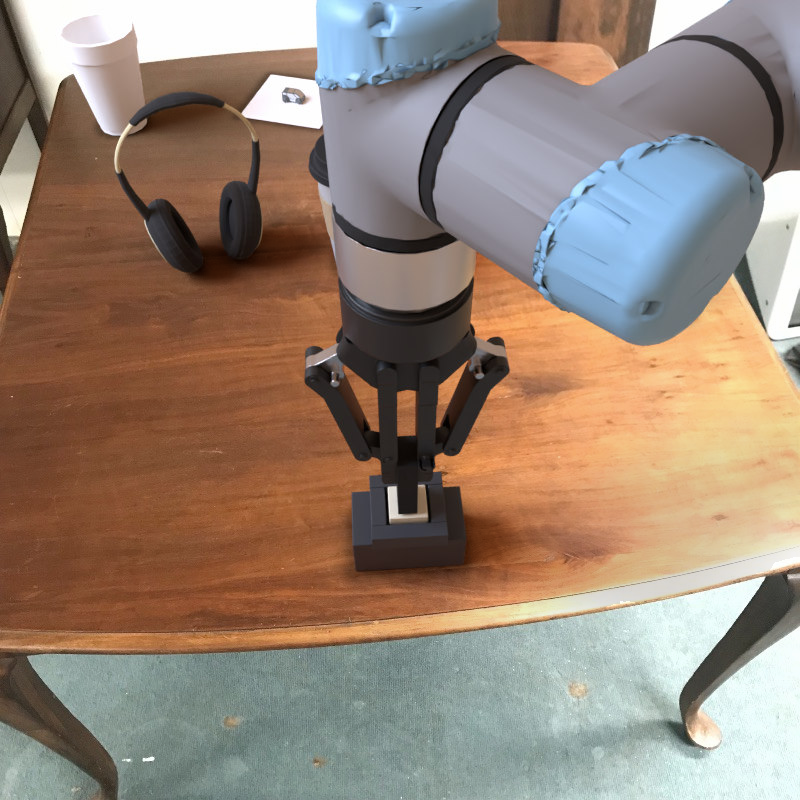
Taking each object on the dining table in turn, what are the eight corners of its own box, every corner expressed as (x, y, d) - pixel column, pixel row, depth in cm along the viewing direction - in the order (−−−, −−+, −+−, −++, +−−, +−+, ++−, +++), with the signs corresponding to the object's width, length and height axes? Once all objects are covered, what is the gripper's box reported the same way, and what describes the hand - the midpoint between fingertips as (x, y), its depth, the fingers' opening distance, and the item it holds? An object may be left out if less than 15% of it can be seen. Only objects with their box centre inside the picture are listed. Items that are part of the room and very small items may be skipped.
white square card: (319, 128, 106) (318, 118, 105) (238, 116, 108) (236, 106, 107) (347, 85, 113) (346, 75, 112) (271, 74, 116) (269, 64, 114)
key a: (424, 495, 63) (425, 484, 62) (427, 528, 61) (428, 516, 60) (388, 498, 63) (387, 486, 62) (390, 530, 61) (389, 519, 60)
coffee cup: (370, 225, 93) (364, 110, 81) (419, 266, 88) (420, 150, 76) (304, 257, 89) (288, 141, 77) (351, 302, 84) (342, 186, 73)
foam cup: (92, 108, 110) (60, 15, 100) (159, 102, 111) (133, 9, 101) (87, 145, 104) (52, 50, 94) (156, 138, 105) (130, 43, 95)
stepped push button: (456, 508, 68) (460, 470, 63) (464, 570, 64) (468, 534, 59) (354, 514, 67) (350, 476, 63) (355, 576, 64) (351, 540, 59)
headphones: (286, 263, 88) (260, 100, 73) (157, 298, 85) (101, 135, 70) (266, 220, 94) (237, 59, 78) (143, 251, 90) (88, 89, 75)
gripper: (514, 221, 45) (483, 455, 63) (288, 231, 44) (323, 463, 63) (535, 312, 40) (495, 536, 58) (284, 324, 40) (323, 546, 58)
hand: (406, 498), depth 61 cm, fingers closed
